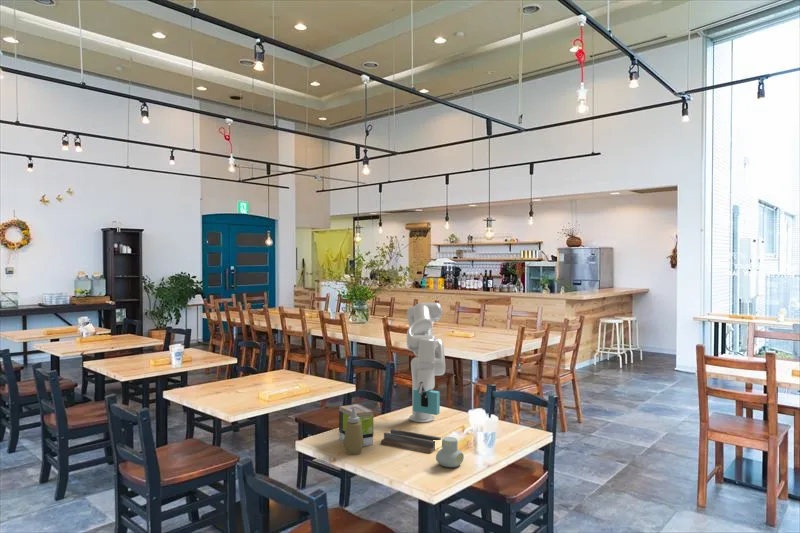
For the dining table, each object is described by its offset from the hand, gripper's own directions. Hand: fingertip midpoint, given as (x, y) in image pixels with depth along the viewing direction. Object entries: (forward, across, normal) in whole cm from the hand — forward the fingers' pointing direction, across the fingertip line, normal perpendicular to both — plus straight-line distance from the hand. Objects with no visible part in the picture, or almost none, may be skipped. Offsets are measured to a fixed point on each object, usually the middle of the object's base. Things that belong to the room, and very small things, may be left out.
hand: (426, 405), depth 240 cm
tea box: (+14, +24, -22) cm, 36 cm away
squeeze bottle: (+13, +36, -15) cm, 41 cm away
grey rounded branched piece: (+13, +29, +25) cm, 40 cm away
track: (+13, +15, +1) cm, 20 cm away
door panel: (+3, 0, 0) cm, 3 cm away
